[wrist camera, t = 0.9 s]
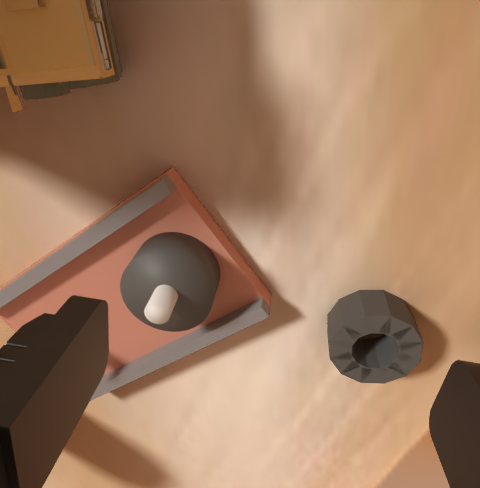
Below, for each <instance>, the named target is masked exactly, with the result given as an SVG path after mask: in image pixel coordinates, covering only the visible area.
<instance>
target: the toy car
mask: <svg viewBox="0 0 480 488" xmlns="http://www.w3.org/2000/svg"><path fill="white" fill-rule="evenodd" d="M120 77H122V70H121V66H120V62H119V58H118V52H117V48H116V44H115V39H114V34H113V29H112V24H111V20H110V15H109V10H108V5H107V0H0V87H5V90H6V93H7V96H8V100H9V103H10V106H11V109H12V113H14V112H17V111H20V110H23V108H22V105H21V103H20V100H19V97H18V94H17V92H16V89H15V86H20V88H21V91H22V94H23V97H24V99H39V98H49V97H54V96H60V95H64V94H68V93H70V89H74V88H82V87H89V86H95V85H100V84H106V83H111V82H114V81H118V80H119V79H120Z"/></svg>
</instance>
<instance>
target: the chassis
mask: <svg viewBox="0 0 480 488" xmlns="http://www.w3.org/2000/svg"><path fill="white" fill-rule="evenodd" d="M73 295H77V296H83V297H89V298H95V299H101V300H105V301H106V302H107V304H108V322H109V356H108V362H107V366H106V370H105V373H104V375H103V377H102V379H101V381H100V383H99V385H98V387H97V389H96V390H95V392H94V394H93V396H92V398H91V399H90V401H91V400H93V399H95V398H97V397H99V396H102V395H104V394H106V393H108V392H110V391H112V390H114V389H116V388H119V387H121V386H123V385H125V384H127V383H129V382H131V381H134V380H136V379H138V378H140V377H142V376H144V375H146V374H149V373H151V372H153V371H155V370H157V369H159V368H161V367H164V366H166V365H168V364H170V363H172V362H174V361H176V360H179V359H181V358H183V357H185V356H187V355H189V354H191V353H193V352H196V351H198V350H200V349H202V348H204V347H206V346H208V345H211V344H213V343H215V342H217V341H219V340H221V339H223V338H226V337H228V336H230V335H232V334H234V333H236V332H238V331H241V330H243V329H245V328H247V327H249V326H251V325H253V324H256V323H258V322H260V321H262V320H264V319H266V318H268V317H269V313H270V303H271V294H270V292H269V291H268V290H267V288H266V287H265V286H264V285H263V283H262V282H261V281H260V279H259V278H258V277H257V275H256V274H255V273H254V272H253V270H252V269H251V268H250V266H249V265H248V264H247V262H246V261H245V260H244V259H243V257H242V256H241V255H240V253H239V252H238V251H237V249H236V248H235V247H234V246H233V244H232V243H231V242H230V240H229V239H228V238H227V236H226V235H225V234H224V233H223V231H222V230H221V229H220V227H219V226H218V225H217V223H216V222H215V221H214V219H213V218H212V217H211V216H210V214H209V213H208V212H207V210H206V209H205V208H204V206H203V205H202V204H201V203H200V201H199V200H198V199H197V197H196V196H195V195H194V193H193V192H192V191H191V190H190V188H189V187H188V186H187V184H186V183H185V182H184V180H183V179H182V178H181V177H180V175H179V174H178V173H177V171H176V170H175V169H174V167H172V168H170V169H169V170H168V171H166V172H165V173H163V174H162V175H160V176H159V177H157V178H156V179H155V180H153V181H152V182H150V183H149V184H147V185H146V186H145V187H143V188H142V189H140V190H139V191H137V192H136V193H135V194H133V195H132V196H130V197H129V198H127V199H126V200H125V201H123V202H122V203H120V204H119V205H117V206H116V207H115V208H113V209H112V210H110V211H109V212H107V213H106V214H104V215H103V216H102V217H100V218H99V219H97V220H96V221H94V222H93V223H92V224H90V225H89V226H87V227H86V228H84V229H83V230H82V231H80V232H79V233H77V234H76V235H74V236H73V237H72V238H70V239H69V240H67V241H66V242H64V243H63V244H62V245H60V246H59V247H57V248H56V249H54V250H53V251H52V252H50V253H49V254H47V255H46V256H44V257H43V258H41V259H40V260H39V261H37V262H36V263H34V264H33V265H31V266H30V267H29V268H27V269H26V270H24V271H23V272H21V273H20V274H19V275H17V276H16V277H14V278H13V279H11V280H10V281H9V282H7V283H6V284H4V285H3V286H1V287H0V318H1V319H2V320H3V321H5V322H6V323H7V324H8V325H9V326H10V327H11V328H12V329H13V330H14V331H16V332H17V331H18V330H19V329H20V328H21V326H22V325H24V324H26V323H28V322H29V321H31V320H33V319H35V318H36V317H38V316H40V315H42V314H44V313H48V314H54V315H55V314H56V312H57V311H58V310H59V309H60V308H61V307H62V305H63V304H64V303H65V302H66V301H67V300H68V299H69V298H70V297H71V296H73Z"/></svg>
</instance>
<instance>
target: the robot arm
mask: <svg viewBox="0 0 480 488" xmlns="http://www.w3.org/2000/svg"><path fill="white" fill-rule="evenodd" d="M108 356H109V322H108V304H107V302H106V301H105V300H101V299H95V298H89V297H83V296H77V295H73V296H71V297H70V298H69V299H68V300H67V301H66V302H65V303H64V304H63V305H62V307H61V308H60V309H59V310H58V311H57V312H56V314H55V315H54V314H48V313H44V314H42V315H40V316H38V317H36V318H35V319H33V320H31V321H29V322H28V323H26V324H24V325H22V326H21V328H20V329H19V330H18V331H17V332H16V333H15V334H14V335H13V336H12V337H11V338H10V339H9V340H8V341H7V344H6V345H4V346H3V347H2V348H1V349H0V488H42V486H43V485H44V483H45V481H46V479H47V477H48V476H49V474H50V472H51V470H52V468H53V467H54V465H55V463H56V461H57V459H58V457H59V456H60V454H61V452H62V450H63V448H64V447H65V445H66V443H67V441H68V439H69V438H70V436H71V434H72V432H73V430H74V428H75V427H76V425H77V423H78V421H79V419H80V418H81V416H82V414H83V412H84V410H85V409H86V407H87V405H88V403H89V401H90V399H91V398H92V396H93V394H94V392H95V390H96V389H97V387H98V385H99V383H100V381H101V379H102V377H103V375H104V373H105V370H106V366H107V362H108ZM429 428H430V433H431V437H432V440H433V443H434V446H435V448H436V451H437V454H438V456H439V459H440V462H441V464H442V467H443V470H444V472H445V475H446V477H447V480H448V483H449V485H450V488H480V364H479V363H473V362H467V361H461V360H457V361H455V362H454V363H453V364H452V365H451V367H450V369H449V371H448V373H447V375H446V378H445V380H444V382H443V384H442V386H441V388H440V390H439V393H438V395H437V397H436V399H435V401H434V403H433V405H432V408H431V411H430V417H429Z"/></svg>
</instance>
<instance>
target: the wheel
mask: <svg viewBox="0 0 480 488" xmlns="http://www.w3.org/2000/svg"><path fill="white" fill-rule="evenodd" d="M327 333H328V344H329V355H330V360H331V361H332V362H333V364H334V365H335V366H336V368H337V369H338V370H339V372H340V373H341V374H343V375H345V376H347V377H349V378H352V379H354V380H356V381H358V382H361V383H387V382H389V381H392V380H395V379H398V378H401V377H404V376H406V375H407V374H408V373H409V372H410V371H411V370H412V369H413V368H414V367H415V366H416V365H417V364H418V363H419V362H420V361H421V354H422V348H423V341H422V338H421V335H420V333H419V330H418V328H417V325H416V322H415V320H414V317H413V315H412V313H411V312H410V310H409V309H408V307H407V305H406V304H405V302H404V301H403V299H401V298H399V297H397V296H394V295H392V294H390V293H388V292H386V291H384V290H359V291H357V292H355V293H352V294H350V295H348V296H346V297H343V298H341V299H339V300H338V302H337V303H336V304H335V306H334V307H333V308H332V310H331V311H330V312H329V314H328V331H327ZM370 333H380V334H385V335H384V336H382V337H379V338H377V339H374V340H362V339H360V337H363V336H365V335H367V334H370Z"/></svg>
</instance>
